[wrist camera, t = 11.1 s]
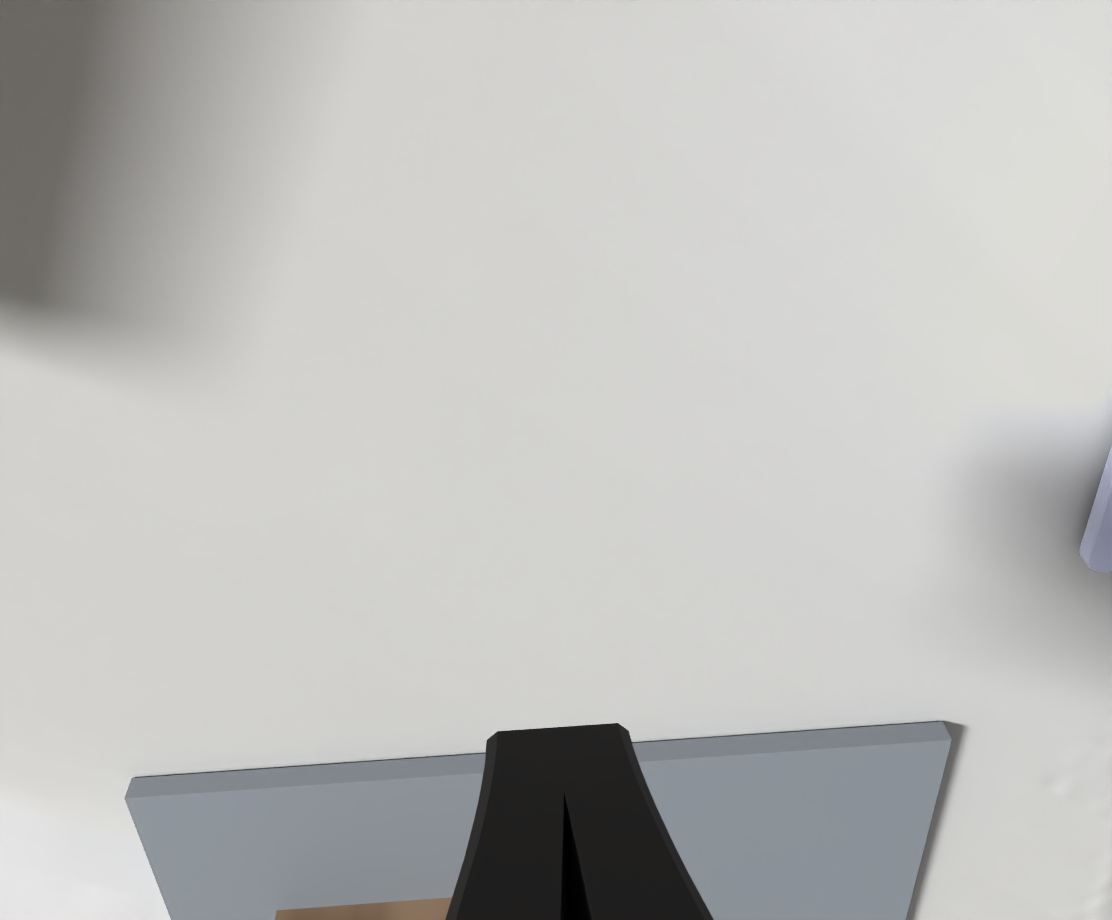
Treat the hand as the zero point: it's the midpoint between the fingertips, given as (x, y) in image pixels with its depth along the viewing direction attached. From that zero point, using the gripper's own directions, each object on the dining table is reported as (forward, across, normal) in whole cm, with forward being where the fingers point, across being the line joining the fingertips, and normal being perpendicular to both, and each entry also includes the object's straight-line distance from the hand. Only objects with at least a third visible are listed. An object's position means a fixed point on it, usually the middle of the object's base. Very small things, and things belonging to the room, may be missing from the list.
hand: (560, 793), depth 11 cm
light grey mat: (+10, 0, +18) cm, 21 cm away
